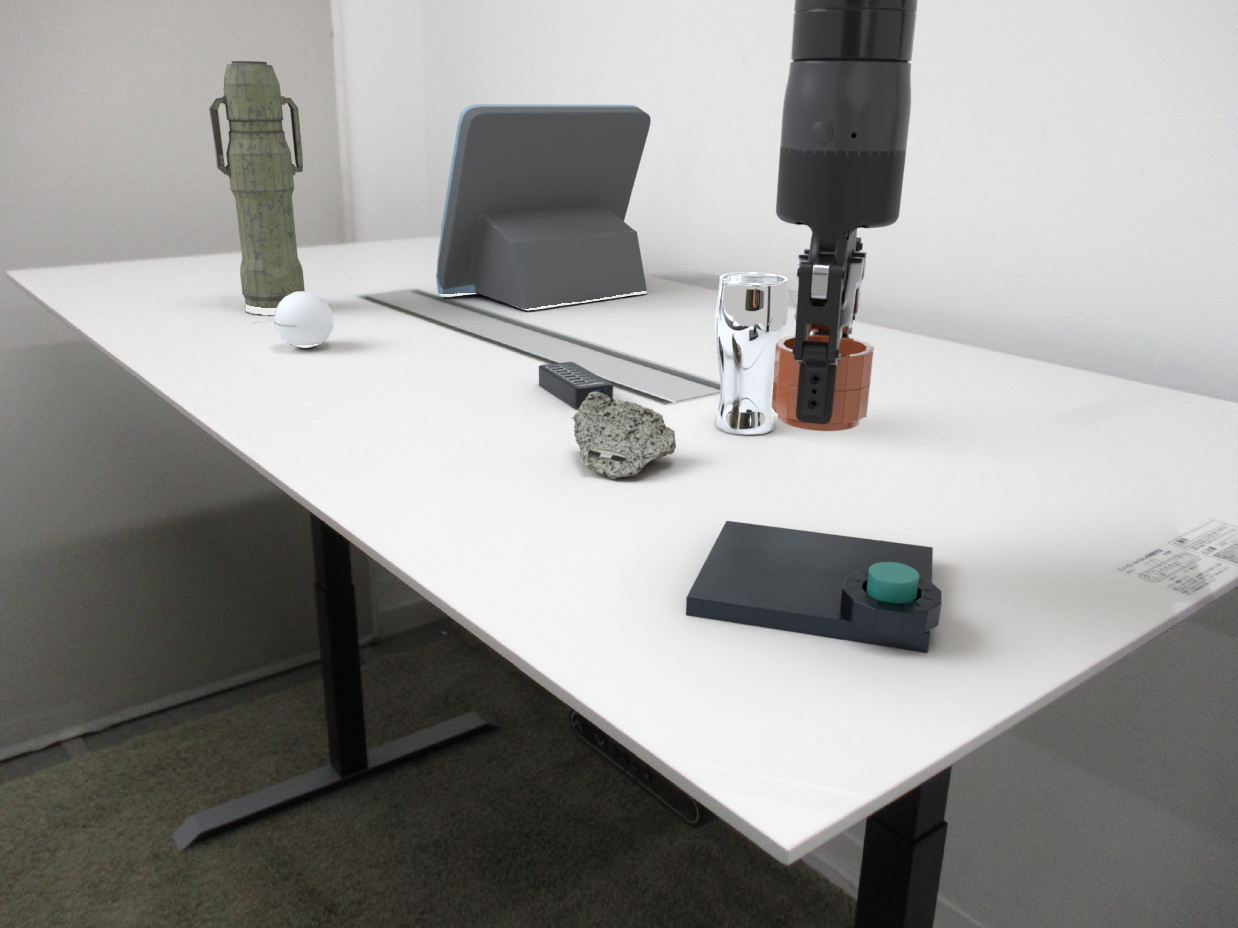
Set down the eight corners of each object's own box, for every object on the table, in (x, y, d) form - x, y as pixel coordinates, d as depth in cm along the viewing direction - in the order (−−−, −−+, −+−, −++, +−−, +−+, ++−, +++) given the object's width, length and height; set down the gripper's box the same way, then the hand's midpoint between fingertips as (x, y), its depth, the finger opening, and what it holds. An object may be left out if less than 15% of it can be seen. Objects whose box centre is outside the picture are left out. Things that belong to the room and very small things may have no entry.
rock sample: (555, 442, 84) (598, 360, 88) (542, 472, 92) (582, 395, 95) (665, 498, 85) (703, 414, 88) (643, 523, 92) (680, 445, 95)
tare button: (917, 587, 63) (919, 565, 63) (915, 609, 61) (918, 586, 60) (868, 580, 64) (870, 558, 64) (864, 601, 61) (867, 578, 61)
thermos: (228, 308, 153) (197, 61, 141) (306, 301, 159) (283, 63, 147) (241, 319, 146) (210, 60, 134) (322, 311, 152) (299, 62, 140)
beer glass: (783, 437, 99) (795, 285, 94) (712, 436, 99) (720, 283, 94) (774, 416, 105) (785, 272, 100) (708, 415, 105) (715, 271, 100)
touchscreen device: (599, 274, 185) (603, 101, 174) (670, 294, 171) (680, 108, 160) (431, 296, 164) (424, 100, 153) (497, 320, 150) (495, 107, 139)
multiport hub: (572, 380, 118) (572, 360, 117) (614, 405, 108) (614, 384, 108) (537, 384, 116) (537, 364, 115) (577, 410, 106) (577, 389, 106)
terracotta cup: (869, 410, 69) (876, 338, 67) (862, 437, 63) (870, 360, 62) (779, 401, 71) (784, 331, 69) (764, 427, 65) (769, 352, 63)
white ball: (333, 339, 135) (328, 285, 133) (338, 352, 129) (333, 295, 126) (254, 344, 132) (248, 288, 129) (256, 358, 125) (249, 299, 123)
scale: (937, 565, 72) (942, 527, 71) (935, 663, 60) (941, 618, 59) (725, 537, 76) (727, 500, 75) (681, 623, 64) (683, 580, 63)
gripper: (901, 150, 54) (869, 447, 59) (911, 140, 66) (884, 384, 72) (761, 146, 56) (743, 433, 61) (797, 137, 69) (779, 375, 74)
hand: (819, 406), depth 67 cm, fingers closed on terracotta cup, 6 cm apart
